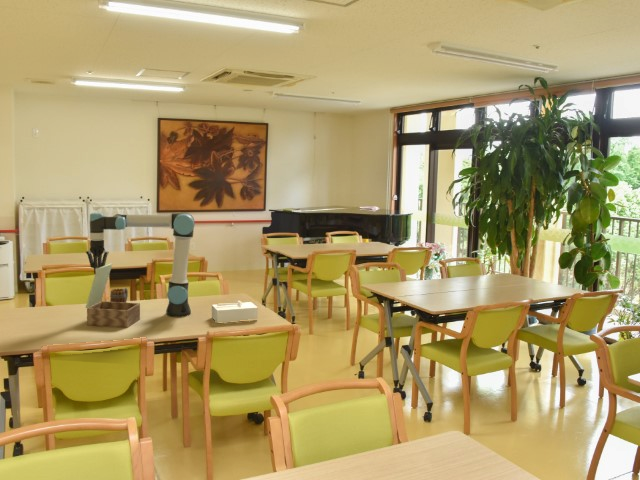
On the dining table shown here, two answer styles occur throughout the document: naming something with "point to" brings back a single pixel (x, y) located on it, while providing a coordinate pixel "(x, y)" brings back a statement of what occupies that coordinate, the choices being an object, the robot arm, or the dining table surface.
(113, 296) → the mug
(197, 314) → the dining table surface
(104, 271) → the lid
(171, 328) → the dining table surface
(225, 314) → the tissue box
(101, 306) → the box
